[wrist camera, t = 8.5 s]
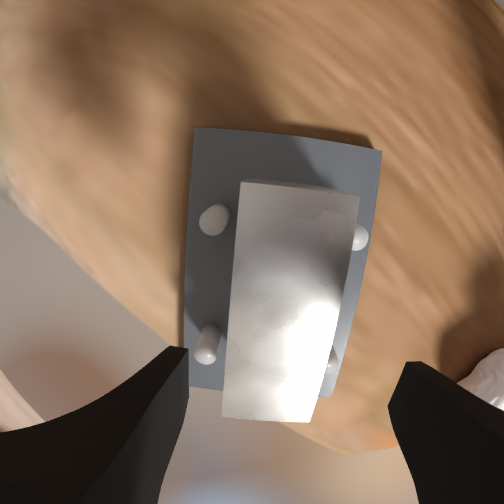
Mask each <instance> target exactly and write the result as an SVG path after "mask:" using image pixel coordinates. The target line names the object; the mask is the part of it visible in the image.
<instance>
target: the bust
mask: <svg viewBox="0 0 504 504" xmlns="http://www.w3.org/2000/svg"><path fill="white" fill-rule="evenodd" d="M457 384H458V385H460V386H461V387H463V388H464V389H466V390H468V391H469V392H471V393H472V394H474V395H476V396H477V397H479V398H481V399H482V400H484V401H486V402H488V403H489V404H491V405H493V406H495V407H497V408H499V409H501V410H503V411H504V348H502V349H498V350H495V351H493V352H491V353H490V354H489V355H488V356H487V357H486V358H484V359H482V360H481V361H480V362H479V363H478V364H477V365H476V367H475V368H474V370H473V371H472V373H471V374H470V375H469V376H468V377H466V378H464V379H462V380H461V381H459V382H458V383H457Z"/></svg>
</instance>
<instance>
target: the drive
mask: <svg viewBox="0 0 504 504" xmlns="http://www.w3.org/2000/svg"><path fill="white" fill-rule="evenodd" d="M359 201H360V197H359V196H356V195H352V194H349V193H345V192H342V191H338V190H335V189H331V188H327V187H323V186H316V185H309V184H301V183H293V182H285V181H276V180H267V179H257V178H246V179H244V180H243V181H241V185H240V196H239V206H238V217H237V228H236V239H235V250H234V261H233V273H232V285H231V297H230V309H229V322H228V334H227V348H226V361H225V375H224V389H223V404H222V417H229V418H239V419H250V420H265V421H283V422H310V419H311V416H312V413H313V410H314V406H315V403H316V400H317V396H318V393H319V389H320V386H321V383H322V379H323V375H324V372H325V368H326V364H327V361H328V357H329V353H330V349H331V345H332V341H333V337H334V333H335V329H336V324H337V320H338V316H339V311H340V307H341V302H342V298H343V293H344V288H345V283H346V278H347V273H348V268H349V263H350V257H351V252H352V246H353V240H354V234H355V228H356V221H357V215H358V208H359Z"/></svg>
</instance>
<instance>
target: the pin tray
mask: <svg viewBox="0 0 504 504" xmlns="http://www.w3.org/2000/svg"><path fill="white" fill-rule="evenodd" d="M381 158H382V151H380V150H375V149H371V148H366V147H361V146H355V145H350V144H344V143H339V142H333V141H327V140H321V139H314V138H307V137H300V136H292V135H285V134H276V133H267V132H257V131H246V130H234V129H220V128H202V127H195V132H194V141H193V151H192V162H191V174H190V186H189V200H188V215H187V232H186V252H185V279H184V348H188V349H189V386H192V387H199V388H206V389H213V390H222V391H223V389H224V375H225V361H226V348H227V334H228V322H229V309H230V297H231V285H232V273H233V261H234V250H235V239H236V228H237V217H238V206H239V196H240V185H241V181H243V180H244V179H246V178H257V179H267V180H276V181H285V182H293V183H301V184H309V185H316V186H323V187H327V188H331V189H335V190H338V191H342V192H345V193H349V194H352V195H356V196H359V197H360V201H359V208H358V215H357V221H356V228H355V234H354V240H353V246H352V252H351V257H350V263H349V268H348V273H347V278H346V283H345V288H344V293H343V298H342V302H341V307H340V311H339V316H338V320H337V324H336V329H335V333H334V337H333V341H332V345H331V349H330V353H329V357H328V361H327V364H326V368H325V372H324V375H323V379H322V383H321V386H320V389H319V393H318V396H317V397H331V395H332V392H333V389H334V386H335V383H336V379H337V376H338V373H339V370H340V366H341V363H342V359H343V356H344V352H345V349H346V345H347V341H348V338H349V334H350V330H351V326H352V322H353V318H354V314H355V310H356V306H357V301H358V297H359V293H360V288H361V283H362V279H363V274H364V269H365V264H366V259H367V254H368V248H369V243H370V237H371V231H372V225H373V219H374V213H375V206H376V199H377V192H378V184H379V176H380V167H381Z"/></svg>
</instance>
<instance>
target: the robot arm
mask: <svg viewBox="0 0 504 504" xmlns="http://www.w3.org/2000/svg"><path fill="white" fill-rule="evenodd" d="M188 398H189V349H188V348H181V347H175V346H169V347H167V348H166V349H165V350H164V351H163V352H161V353H160V354H159V355H158V356H156V357H155V358H154V359H153V360H152V361H151V362H149V363H148V364H147V365H146V366H145V367H143V368H142V369H141V370H139V371H138V372H137V373H135V374H134V375H133V376H132V377H130V378H129V379H128V380H126V381H125V382H123V383H122V384H120V385H119V386H117V387H116V388H115V389H113V390H112V391H110V392H109V393H107V394H105V395H104V396H102V397H100V398H99V399H97V400H95V401H93V402H91V403H90V404H88V405H86V406H84V407H82V408H80V409H78V410H75V411H73V412H70V413H68V414H65V415H63V416H61V417H58V418H55V419H53V420H50V421H47V422H44V423H41V424H37V425H34V426H30V427H26V428H22V429H18V430H13V431H8V432H1V433H0V504H157V503H158V498H159V493H160V489H161V485H162V482H163V478H164V475H165V472H166V470H167V467H168V464H169V461H170V459H171V456H172V453H173V450H174V447H175V445H176V442H177V439H178V436H179V433H180V431H181V428H182V425H183V421H184V417H185V413H186V408H187V403H188ZM388 410H389V415H390V419H391V423H392V427H393V430H394V433H395V435H396V438H397V440H398V443H399V445H400V448H401V450H402V453H403V455H404V457H405V460H406V462H407V465H408V468H409V470H410V473H411V475H412V478H413V481H414V484H415V488H416V492H417V496H418V501H419V504H504V411H503V410H501V409H499V408H497V407H495V406H493V405H491V404H489V403H488V402H486V401H484V400H482V399H481V398H479V397H477V396H476V395H474V394H472V393H471V392H469V391H468V390H466V389H464V388H463V387H461V386H460V385H458V384H457V383H455V382H454V381H452V380H451V379H449V378H448V377H446V376H445V375H443V374H442V373H440V372H438V371H437V370H435V369H434V368H432V367H430V366H429V365H427V364H425V363H423V362H421V361H415V362H406V364H405V366H404V369H403V371H402V374H401V376H400V379H399V381H398V384H397V386H396V388H395V391H394V393H393V395H392V397H391V400H390V402H389V404H388Z"/></svg>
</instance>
